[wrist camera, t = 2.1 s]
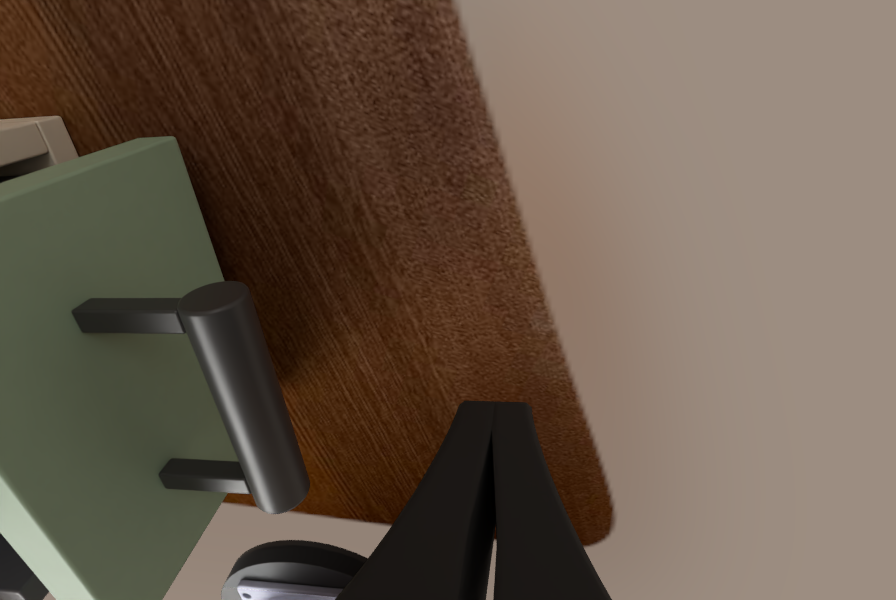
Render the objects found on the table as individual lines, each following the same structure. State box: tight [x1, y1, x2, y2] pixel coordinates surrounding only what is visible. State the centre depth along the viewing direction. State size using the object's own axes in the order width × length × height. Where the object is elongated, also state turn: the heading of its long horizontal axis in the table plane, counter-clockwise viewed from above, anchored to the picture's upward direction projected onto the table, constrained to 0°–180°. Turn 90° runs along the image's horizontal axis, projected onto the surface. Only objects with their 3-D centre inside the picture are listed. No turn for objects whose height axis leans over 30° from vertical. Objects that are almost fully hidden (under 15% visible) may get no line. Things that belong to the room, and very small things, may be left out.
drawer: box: [0, 136, 310, 600], centre depth 13 cm, size 16×11×8 cm, turn 94°
